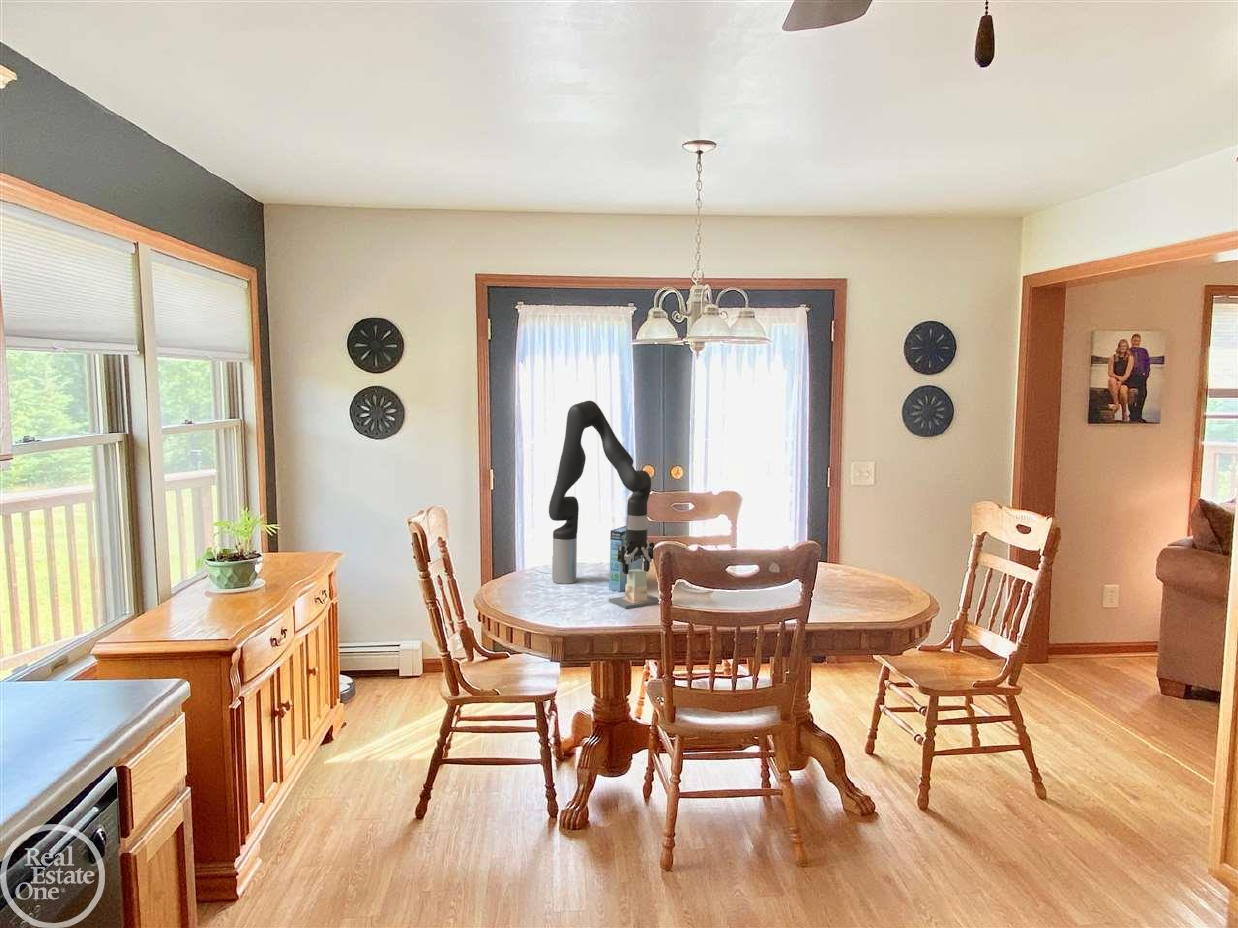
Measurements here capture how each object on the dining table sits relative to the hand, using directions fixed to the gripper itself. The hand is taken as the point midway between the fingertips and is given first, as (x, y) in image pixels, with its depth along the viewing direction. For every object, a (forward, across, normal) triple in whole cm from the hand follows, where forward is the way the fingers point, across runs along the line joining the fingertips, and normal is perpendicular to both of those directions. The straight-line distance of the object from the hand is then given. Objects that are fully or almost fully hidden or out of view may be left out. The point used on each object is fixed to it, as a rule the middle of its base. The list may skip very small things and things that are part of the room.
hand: (636, 572), depth 286 cm
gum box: (+11, -10, -21) cm, 25 cm away
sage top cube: (+4, 0, +1) cm, 4 cm away
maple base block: (+9, 0, +1) cm, 9 cm away
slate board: (+10, 0, +1) cm, 10 cm away
